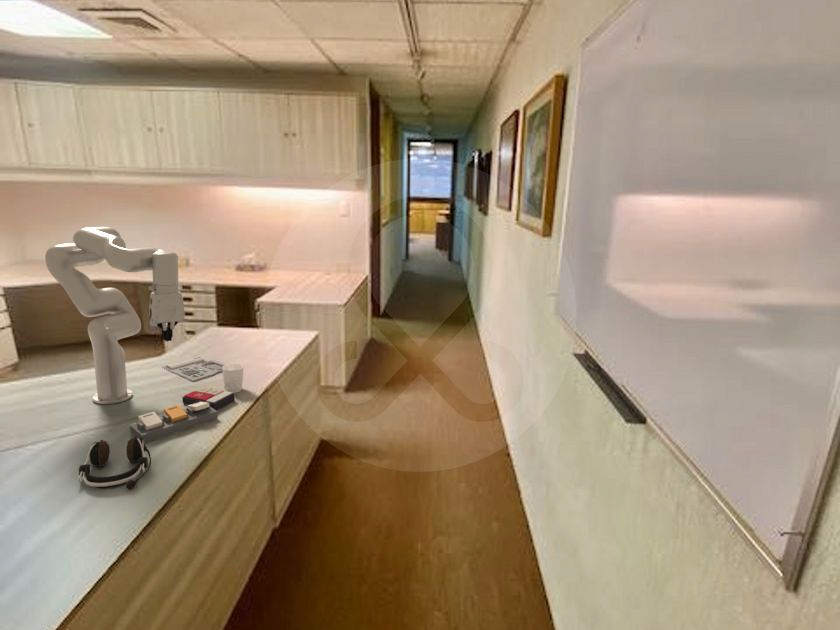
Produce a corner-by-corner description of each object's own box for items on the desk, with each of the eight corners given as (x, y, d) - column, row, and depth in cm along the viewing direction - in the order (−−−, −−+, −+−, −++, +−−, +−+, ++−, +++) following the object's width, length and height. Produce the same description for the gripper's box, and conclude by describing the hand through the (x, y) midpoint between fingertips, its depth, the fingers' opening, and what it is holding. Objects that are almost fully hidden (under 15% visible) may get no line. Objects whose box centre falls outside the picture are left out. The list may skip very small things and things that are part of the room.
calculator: (203, 385, 188) (234, 391, 183) (204, 395, 189) (235, 401, 184) (181, 395, 178) (213, 401, 173) (182, 406, 178) (214, 412, 174)
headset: (153, 429, 144) (146, 473, 127) (155, 449, 146) (148, 496, 130) (86, 436, 137) (69, 484, 120) (89, 457, 140) (73, 507, 123)
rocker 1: (146, 430, 151) (146, 426, 151) (138, 419, 154) (138, 415, 154) (162, 425, 155) (162, 421, 155) (153, 414, 158) (154, 411, 158)
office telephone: (161, 364, 209) (202, 353, 226) (161, 369, 210) (202, 358, 226) (192, 377, 197) (233, 364, 214) (192, 383, 198) (234, 370, 214)
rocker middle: (172, 421, 158) (172, 418, 157) (163, 412, 161) (164, 408, 160) (186, 417, 161) (186, 413, 161) (178, 407, 164) (178, 404, 164)
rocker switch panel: (142, 443, 150) (141, 430, 148) (130, 433, 155) (129, 420, 154) (217, 418, 169) (217, 406, 168) (204, 410, 174) (204, 398, 173)
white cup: (223, 394, 188) (223, 371, 186) (221, 387, 195) (221, 364, 193) (244, 392, 192) (244, 369, 190) (242, 385, 199) (241, 362, 196)
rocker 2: (196, 410, 163) (195, 406, 163) (187, 409, 167) (187, 405, 167) (209, 406, 167) (208, 402, 167) (201, 405, 171) (200, 401, 171)
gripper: (147, 292, 152) (149, 347, 156) (193, 288, 163) (194, 339, 168) (137, 288, 156) (139, 340, 161) (183, 284, 167) (183, 333, 172)
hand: (167, 340), depth 164 cm, fingers closed
